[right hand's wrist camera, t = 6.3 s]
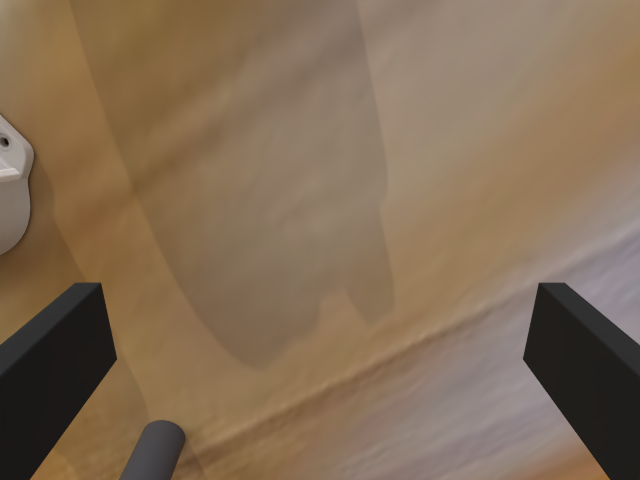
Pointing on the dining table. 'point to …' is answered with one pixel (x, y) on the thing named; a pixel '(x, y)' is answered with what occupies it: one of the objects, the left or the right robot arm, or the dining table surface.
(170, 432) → the bottle
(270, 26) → the dining table surface
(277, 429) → the dining table surface
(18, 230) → the left robot arm
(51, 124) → the dining table surface
